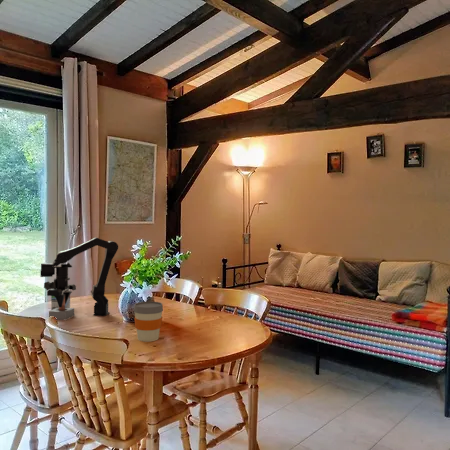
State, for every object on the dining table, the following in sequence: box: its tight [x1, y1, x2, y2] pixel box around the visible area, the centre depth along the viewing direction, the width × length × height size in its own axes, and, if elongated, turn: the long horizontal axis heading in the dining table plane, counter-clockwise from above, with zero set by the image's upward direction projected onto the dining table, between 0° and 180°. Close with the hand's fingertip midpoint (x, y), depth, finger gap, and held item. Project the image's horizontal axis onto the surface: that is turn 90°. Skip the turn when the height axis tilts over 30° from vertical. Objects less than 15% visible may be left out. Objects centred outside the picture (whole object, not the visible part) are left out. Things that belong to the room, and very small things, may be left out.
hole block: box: [48, 307, 75, 321], centre depth 223 cm, size 9×9×4 cm
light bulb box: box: [50, 289, 71, 310], centre depth 238 cm, size 11×7×11 cm, turn 179°
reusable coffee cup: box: [133, 301, 164, 343], centre depth 190 cm, size 13×13×15 cm
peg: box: [59, 297, 65, 311], centre depth 223 cm, size 3×3×10 cm
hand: (61, 306), depth 223 cm, fingers closed on peg, 3 cm apart
